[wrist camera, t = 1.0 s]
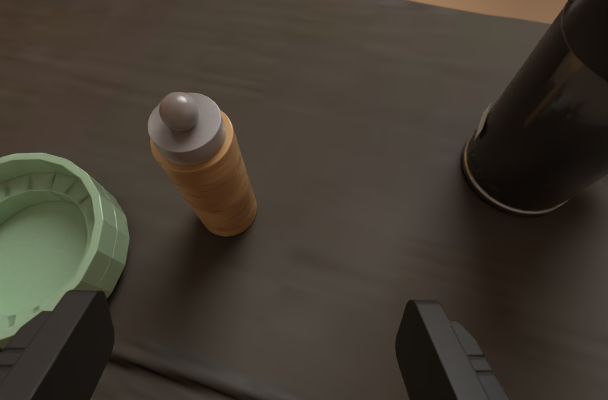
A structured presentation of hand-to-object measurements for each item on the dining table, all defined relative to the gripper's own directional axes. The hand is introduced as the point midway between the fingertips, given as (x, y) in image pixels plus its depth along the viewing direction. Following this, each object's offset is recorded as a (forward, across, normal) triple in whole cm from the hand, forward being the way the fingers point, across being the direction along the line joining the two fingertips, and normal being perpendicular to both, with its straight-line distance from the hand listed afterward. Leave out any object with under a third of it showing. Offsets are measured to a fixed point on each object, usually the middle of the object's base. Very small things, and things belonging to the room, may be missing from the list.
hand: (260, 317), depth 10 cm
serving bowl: (+17, +18, +13) cm, 28 cm away
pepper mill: (+20, +3, +9) cm, 22 cm away
